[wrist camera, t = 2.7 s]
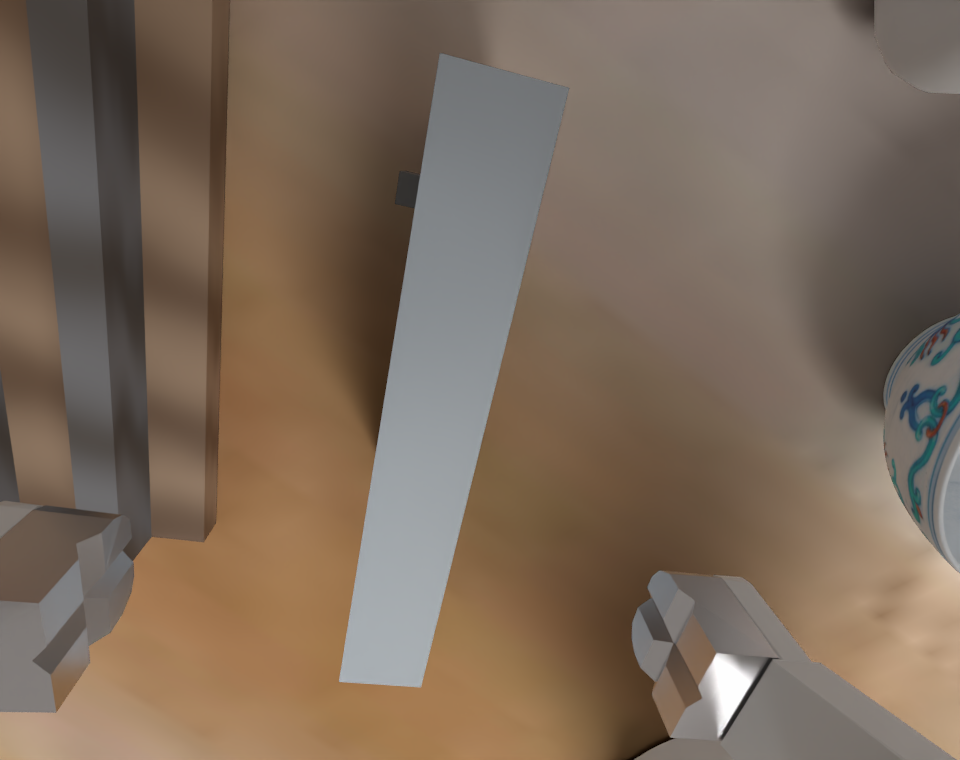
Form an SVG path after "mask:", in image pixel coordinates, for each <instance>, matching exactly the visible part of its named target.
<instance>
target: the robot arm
mask: <svg viewBox="0 0 960 760" xmlns="http://www.w3.org/2000/svg"><path fill="white" fill-rule="evenodd" d="M131 539H132V533H131V524H130V519H129V518H127V517H126V516H124V515H120V514H112V513H104V512H96V511H88V510H80V509H72V508H64V507H56V506H48V505H45V506H41V505H34V504H26V503H18V502H10V501H2V502H0V712H53V713H56V712H57V711H58V709H59V708H60V706H61V705H62V703H63V702H64V700H65V699H66V697H67V696H68V694H69V693H70V692H71V690H72V689H73V687H74V686H75V684H76V683H77V681H78V680H79V678H80V677H81V675H82V674H83V672H84V671H85V670H86V668H87V667H88V665H89V664H90V655H89V645H91V644H93V643H94V642H96V641H98V640H99V639H101V638H102V637H104V636H106V635H107V634H109V633H111V631H112V629H113V628H114V626H115V625H116V623H117V622H118V620H119V619H120V617H121V616H122V614H123V612H124V609H125V607H126V604H127V602H128V599H129V597H130V594H131V591H132V585H133V579H134V563H133V561H132V560H131V559H130V558H129V557H128V556H127V555H126V554H125V553H124V552H123V551H122V550H123V549H124V548H125V546H126V545H127V544H128V543H129V541H130V540H131ZM647 589H648V591H649V594H650V597H651V598H650V599H649V600H647V601H646V602H645V603H643V604H642V605H641V606H639V607H638V609H637V612H636V614H635V617H634V619H633V622H632V643H633V648H634V653H635V656H636V658H637V661H638V663H639V666H640V668H641V669H642V670H643V671H644V672H645V673H646V674H647V675H649V676H650V677H651V678H652V679H653V680H654V681H655V682H654V686H653V690H652V697H653V699H654V701H655V704H656V706H657V708H658V711H659V713H660V715H661V718H662V720H663V722H664V725H665V727H666V729H667V732H668V734H669V737H670V738H675V739H672V740H670V741H667V742H665V743H663V744H660V745H658V746H656V747H654V748H652V749H651V750H649V751H647V752H645V753H644V754H642V755H641V756H639V757H637V758H636V759H634V760H956V759H955V758H953V757H952V756H951V755H949V754H948V753H946V752H945V751H944V750H942V749H941V748H939V747H938V746H937V745H935V744H934V743H932V742H931V741H930V740H928V739H927V738H925V737H924V736H922V735H921V734H920V733H918V732H917V731H915V730H914V729H913V728H911V727H910V726H908V725H907V724H906V723H904V722H903V721H901V720H900V719H899V718H897V717H896V716H894V715H893V714H892V713H890V712H889V711H887V710H886V709H885V708H883V707H882V706H880V705H879V704H878V703H876V702H875V701H873V700H872V699H871V698H869V697H868V696H866V695H865V694H864V693H862V692H861V691H859V690H858V689H857V688H855V687H854V686H852V685H851V684H850V683H848V682H847V681H845V680H844V679H842V678H841V677H840V676H838V675H837V674H835V673H834V672H833V671H831V670H830V669H828V668H827V667H826V666H824V665H823V664H821V663H817V662H811V660H810V659H809V658H808V656H807V655H806V654H805V653H804V651H803V650H802V649H801V647H800V646H799V645H798V644H797V642H796V641H795V640H794V638H793V637H792V636H791V634H790V633H789V632H788V631H787V629H786V628H785V627H784V625H783V624H782V623H781V622H780V620H779V619H778V618H777V616H776V615H775V614H774V613H773V611H772V610H771V609H770V607H769V606H768V605H767V603H766V602H765V601H764V600H763V598H762V597H761V596H760V594H759V593H758V592H757V591H756V589H755V588H754V587H753V585H752V584H751V583H750V582H748V581H747V580H745V579H744V578H742V577H734V576H722V575H713V576H712V575H705V574H695V573H684V572H674V571H663V570H659V571H658V572H657V573H656V574H654V575H653V576H652V578H651V580H650V582H649V584H648V587H647Z"/></svg>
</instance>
